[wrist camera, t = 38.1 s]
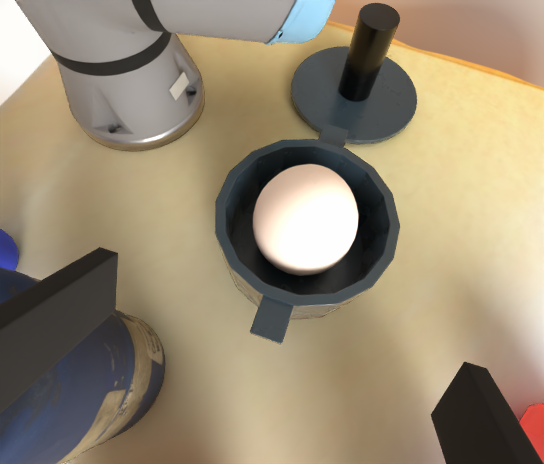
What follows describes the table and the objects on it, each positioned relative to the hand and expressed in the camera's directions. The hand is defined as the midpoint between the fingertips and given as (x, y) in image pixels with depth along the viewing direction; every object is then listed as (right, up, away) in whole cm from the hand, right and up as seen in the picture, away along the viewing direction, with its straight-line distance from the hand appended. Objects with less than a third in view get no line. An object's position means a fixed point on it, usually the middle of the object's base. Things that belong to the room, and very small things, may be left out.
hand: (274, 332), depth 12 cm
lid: (+10, +21, +28) cm, 36 cm away
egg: (+2, +2, +20) cm, 20 cm away
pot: (+3, +2, +20) cm, 21 cm away
